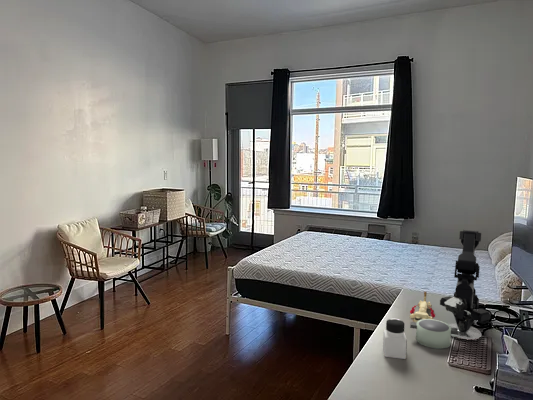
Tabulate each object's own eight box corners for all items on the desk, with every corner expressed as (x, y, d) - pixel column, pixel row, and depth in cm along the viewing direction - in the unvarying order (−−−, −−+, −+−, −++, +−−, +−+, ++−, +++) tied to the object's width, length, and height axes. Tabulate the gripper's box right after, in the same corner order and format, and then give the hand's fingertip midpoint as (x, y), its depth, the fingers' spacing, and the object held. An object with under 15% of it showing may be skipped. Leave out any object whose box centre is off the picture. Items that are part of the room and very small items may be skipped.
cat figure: (413, 307, 184) (407, 324, 162) (414, 289, 184) (408, 303, 162) (436, 311, 180) (433, 328, 158) (437, 292, 180) (434, 307, 157)
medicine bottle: (406, 359, 135) (407, 325, 134) (384, 357, 137) (385, 324, 135) (403, 349, 142) (404, 317, 141) (382, 347, 144) (383, 315, 142)
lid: (443, 323, 163) (444, 312, 163) (478, 328, 158) (479, 316, 158) (445, 337, 151) (445, 324, 151) (483, 343, 146) (484, 330, 146)
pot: (410, 330, 157) (410, 316, 156) (455, 337, 151) (456, 322, 150) (409, 344, 146) (410, 328, 145) (458, 352, 140) (459, 335, 139)
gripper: (430, 286, 158) (428, 323, 160) (471, 302, 141) (468, 343, 143) (450, 282, 163) (448, 318, 164) (492, 297, 146) (490, 337, 147)
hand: (462, 329), depth 155 cm, fingers closed on lid, 3 cm apart
